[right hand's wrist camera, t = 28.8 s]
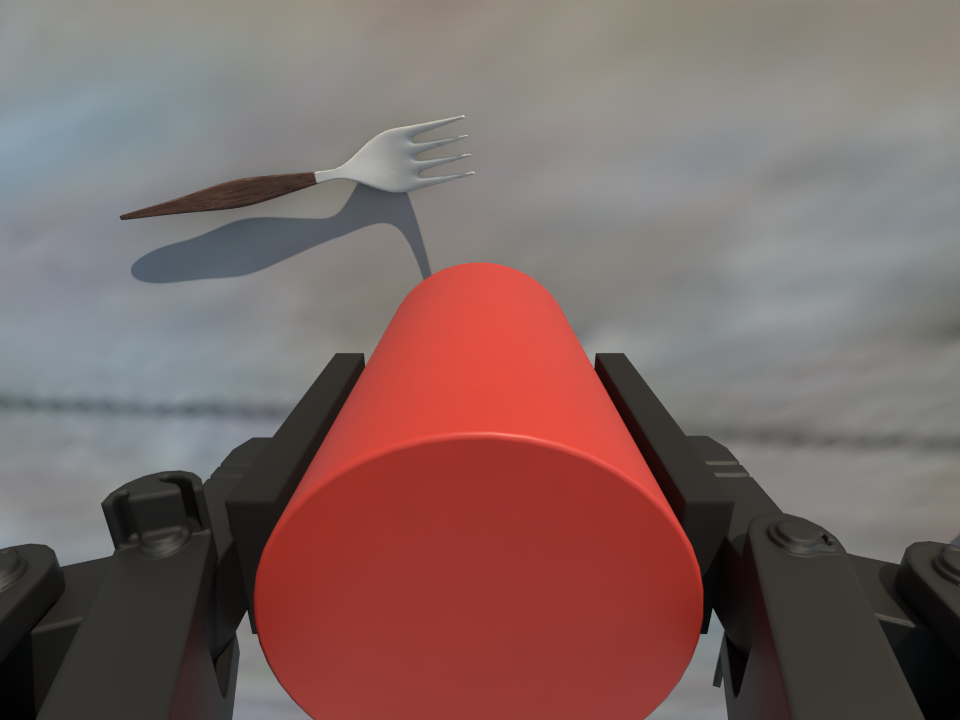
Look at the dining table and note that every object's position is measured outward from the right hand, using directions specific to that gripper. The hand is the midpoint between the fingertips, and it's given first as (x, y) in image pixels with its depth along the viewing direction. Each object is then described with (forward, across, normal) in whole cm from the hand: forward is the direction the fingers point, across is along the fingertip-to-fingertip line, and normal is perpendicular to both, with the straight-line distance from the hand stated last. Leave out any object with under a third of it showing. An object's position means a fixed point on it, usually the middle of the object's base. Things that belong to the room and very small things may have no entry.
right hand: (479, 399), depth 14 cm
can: (+4, 0, 0) cm, 4 cm away
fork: (+12, +8, -5) cm, 15 cm away
